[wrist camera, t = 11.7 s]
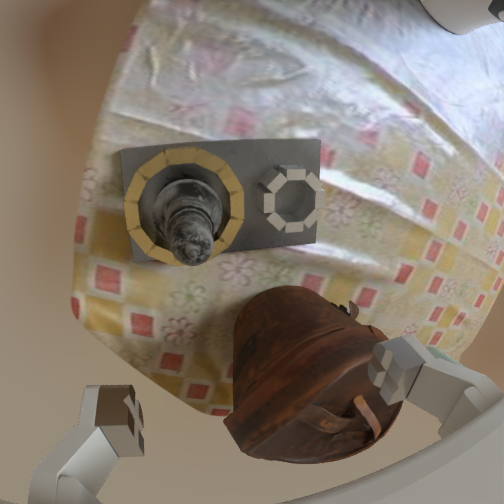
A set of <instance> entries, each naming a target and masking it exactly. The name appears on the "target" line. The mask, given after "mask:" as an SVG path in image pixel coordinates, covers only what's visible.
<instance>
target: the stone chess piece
mask: <svg viewBox="0 0 504 504" xmlns="http://www.w3.org/2000/svg"><path fill="white" fill-rule="evenodd" d="M152 218H153V224H154V226H155V228H156V231H157V232H158V233H159V235H160V236H161V237H162V238H163V239H164V240H166V241H167V242H169V243H170V248H171V251H172V254H173V256H174V257H175V258H176V259H177V260H178V261H179V262H181V263H182V264H185V265H189V266H196V265H199V264H202V263H204V262H205V261H207V260H208V258H209V257H210V256H211V254H212V252H213V247H214V241H213V235H214V233H215V232H216V231H217V229H218V227H219V225H220V223H221V218H222V205H221V202H220V200H219V197H218V196H217V194H216V193H215V191H214V190H213V189H212V188H211V187H209V186H208V185H207V184H206V183H205V182H204V181H202V180H201V179H199V178H197V177H194V176H188V175H185V176H178V177H176V178H173V179H171V180H170V181H169V182H167V183H166V184H165V185H164V187H163V188H162V189H161V191H160V193H159V194H158V196H157V197H156V199H155V202H154V204H153V210H152Z"/></svg>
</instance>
